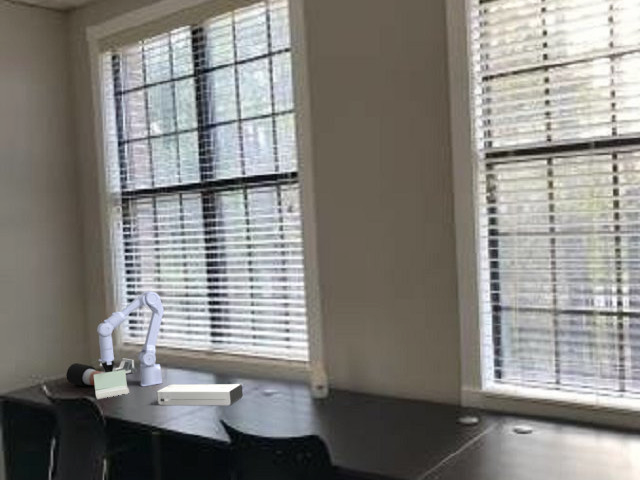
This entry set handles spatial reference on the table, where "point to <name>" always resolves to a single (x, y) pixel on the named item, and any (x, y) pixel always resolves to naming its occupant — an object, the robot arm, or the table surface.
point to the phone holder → (124, 366)
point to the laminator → (199, 394)
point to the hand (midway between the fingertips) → (109, 377)
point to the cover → (110, 380)
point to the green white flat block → (111, 392)
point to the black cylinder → (81, 374)
